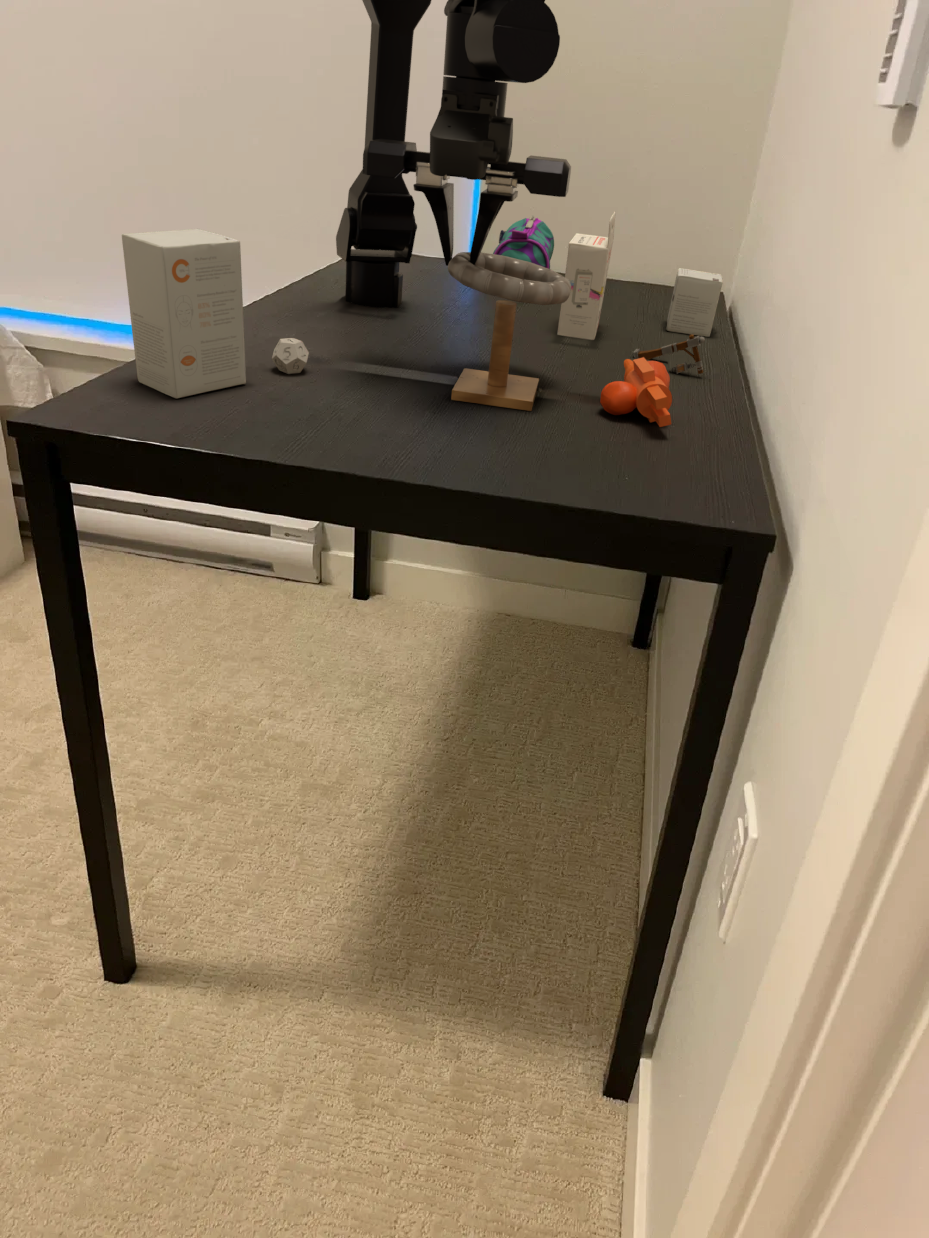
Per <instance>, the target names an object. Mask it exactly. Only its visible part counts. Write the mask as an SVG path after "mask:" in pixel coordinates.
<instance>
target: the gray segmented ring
mask: <svg viewBox="0 0 929 1238" xmlns="http://www.w3.org/2000/svg"><path fill="white" fill-rule="evenodd" d="M470 253H471V251H460V252H458V253H456V254H455V255H454V256H452V259H451V260H450V262H449V264H448V266H447V271H448V273H449V275H450V276H451V277H452V278H453V279H454V280H456V281H457V282H459V283H460V284H461V285H463V286H464V287H467V288H469V289H473V290H474V291H478V292H481V293H482V294H485V295H489V296H491V297H496V298H500V299H503V300H508V301H513V302H515V303H523V304H532V305H538V306H539V305H540V306H549V305H561V303H564V302H565V301H567V299H568V298H569V296H570V292H571V283H570V281H569V280H568V279H567V278H565V276H564V275H562V274H560V273H559V272H557V271H555V270H553V269H552V268H550V269H548V268H545V267H542V266H539V265H537V264H534V263H531V262H527V261H523V260H519V259H515V258H511V257H507V256H502V255H495V254H493V253H490V252H489V253H488V252H483V251H481V253H480V255H479V258H478V260H477V263H476V265H473V264H472V263H470Z"/></svg>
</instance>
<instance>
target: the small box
mask: <svg viewBox="0 0 929 1238" xmlns="http://www.w3.org/2000/svg"><path fill="white" fill-rule="evenodd" d="M121 243H122V252H123V260H124V269H125V279H126V286H127V287H126V289H127V296H128V297H127V298H128V305H129V314H130V315H129V316H130V324H131V334H132V342H133V350H134V351H133V352H134V358H135V368H136V376H137V380H138V383H140V384H143V385H144V386H147V387H149V388H151V389H153V390H156V391H158V392H160V393H162V394H165V395H167V396H169V397H170V398H173V399H180V398H185V397H189V396H193V395H194V396H195V395H198V394H202V393H207V392H213V391H217V390H221V389H225V388H230V387H235V386H240V385H245V384H247V372H246V371H247V370H246V349H245V348H246V346H245V345H246V344H245V324H244V304H243V303H244V302H243V298H244V297H243V280H242V279H243V277H242V275H243V273H242V255H241V251H242V250H241V241H240V240H238V239H236V238H234V237H230V236H227V235H224V234H221V233H217V232H212V231H209V230H205V229H200V228H191V229H174V230H162V231H161V230H160V231H148V232H147V231H146V232H133V233H121Z"/></svg>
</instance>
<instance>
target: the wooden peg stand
mask: <svg viewBox="0 0 929 1238" xmlns="http://www.w3.org/2000/svg"><path fill="white" fill-rule="evenodd" d="M517 306H518V302H516V301H512V300H508V299H499V300H496V302H495V310H494V317H493V318H494V319H493V328H492V337H491V346H490V355H489V356H490V357H489V362H488V363H489V364H488V371H487V370H480V369H473V368H465V367H464V368H463V370H462V372H461V374H460V375H459V377H458V379H457V381H456V382H455V384H454V386H453V388H452V390H451V395H450V396H451V398H450V400H451V401H457V402H465V403H472V404H478V405H486V406H491V407H500V408H505V409H506V408H507V409H512V410H513V409H514V410H520V411H526V412H527V411H528V412H532V410H533V407H534V402H535V400H536V397H537V392H538V389H539V387H538V385H539V382H540V378H537V377H531V376H523V375H515V374H509V371H510V362H511V355H512V347H513V340H514V339H513V338H514V330H515V323H516V314H517Z"/></svg>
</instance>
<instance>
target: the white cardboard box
mask: <svg viewBox="0 0 929 1238" xmlns="http://www.w3.org/2000/svg"><path fill="white" fill-rule="evenodd" d="M723 282H724V281H723V275H722V274H721V273H714V272H708V271H702V270H695V269H689V268H683V267H681V268H680V267H679V268H678V269H677V272H676V277H675V280H674V286H673V291H672V295H671V300H670V304H669V309H668V314H667V317H666V328H665V330H666V331H668V332H673V333H677V334H687V335H691V334H693V335H694V336H699V337H704V338H710V337H711V332H712V329H713V325H714V320H715V316H716V312H717V308H718V304H719V299H720V295H721V291H722V287H723V284H724V283H723Z"/></svg>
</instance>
